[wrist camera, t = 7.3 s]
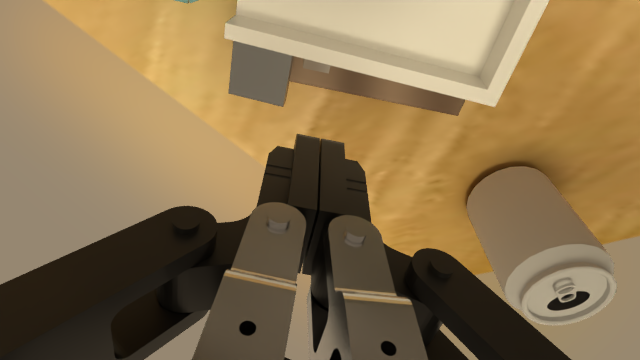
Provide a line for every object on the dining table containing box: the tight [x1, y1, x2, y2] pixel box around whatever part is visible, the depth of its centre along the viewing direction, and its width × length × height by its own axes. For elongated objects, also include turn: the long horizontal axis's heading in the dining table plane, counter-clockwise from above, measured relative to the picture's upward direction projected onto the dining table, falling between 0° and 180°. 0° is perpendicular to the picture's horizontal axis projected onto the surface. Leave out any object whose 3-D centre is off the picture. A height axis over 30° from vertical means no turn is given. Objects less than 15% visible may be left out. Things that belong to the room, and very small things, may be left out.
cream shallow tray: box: [224, 0, 549, 107], centre depth 22 cm, size 15×11×3 cm
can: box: [466, 166, 617, 325], centre depth 33 cm, size 8×8×12 cm
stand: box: [290, 56, 465, 116], centre depth 25 cm, size 16×14×6 cm
